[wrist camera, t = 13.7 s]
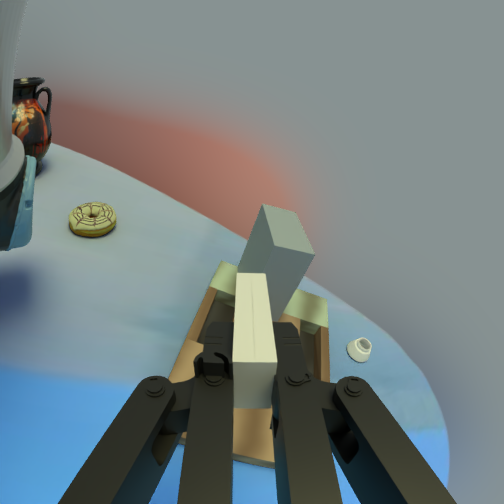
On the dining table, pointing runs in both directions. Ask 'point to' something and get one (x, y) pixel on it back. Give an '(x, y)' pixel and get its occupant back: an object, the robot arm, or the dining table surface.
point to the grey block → (277, 255)
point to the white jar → (359, 349)
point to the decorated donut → (92, 219)
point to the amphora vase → (31, 118)
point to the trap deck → (297, 311)
